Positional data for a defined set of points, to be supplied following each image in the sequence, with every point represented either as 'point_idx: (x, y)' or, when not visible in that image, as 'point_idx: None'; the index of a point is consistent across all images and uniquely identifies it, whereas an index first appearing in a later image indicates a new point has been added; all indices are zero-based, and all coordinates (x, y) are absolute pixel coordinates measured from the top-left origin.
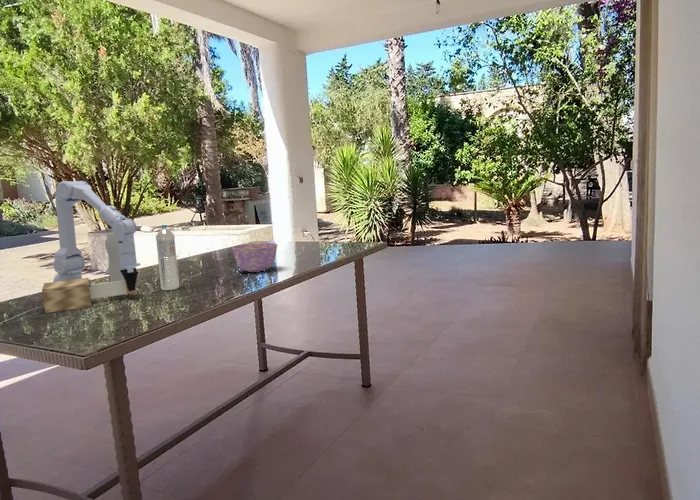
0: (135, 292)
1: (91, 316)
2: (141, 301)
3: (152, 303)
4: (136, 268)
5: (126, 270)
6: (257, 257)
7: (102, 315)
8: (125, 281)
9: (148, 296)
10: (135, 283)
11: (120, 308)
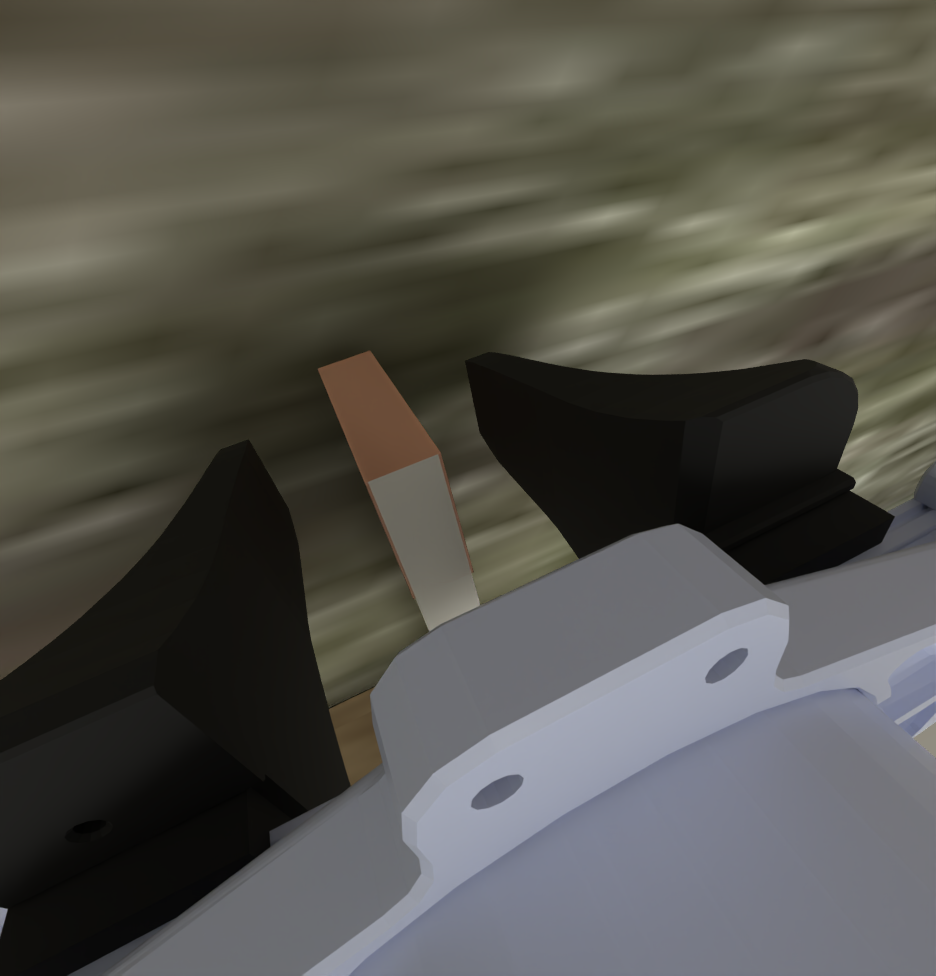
0: (372, 356)
1: (837, 468)
2: (670, 195)
3: (867, 14)
4: (143, 689)
5: (318, 800)
6: None
7: (870, 413)
8: (466, 562)
9: (401, 123)
10: (562, 368)
11: (793, 352)
